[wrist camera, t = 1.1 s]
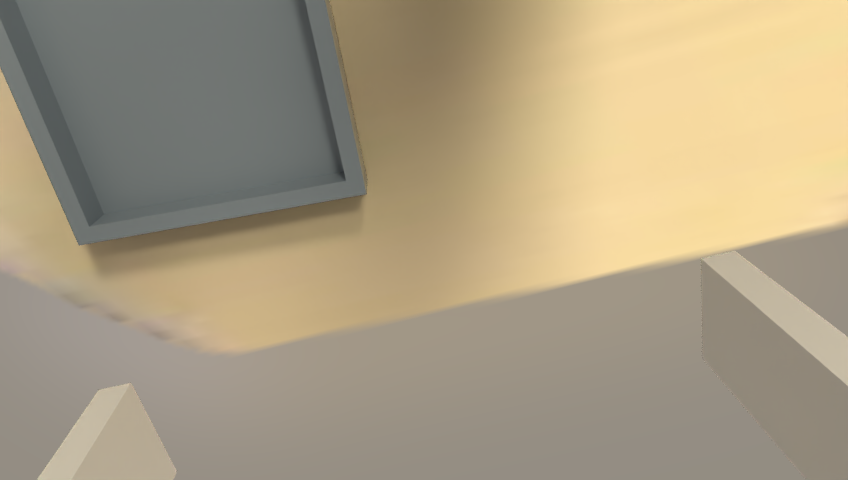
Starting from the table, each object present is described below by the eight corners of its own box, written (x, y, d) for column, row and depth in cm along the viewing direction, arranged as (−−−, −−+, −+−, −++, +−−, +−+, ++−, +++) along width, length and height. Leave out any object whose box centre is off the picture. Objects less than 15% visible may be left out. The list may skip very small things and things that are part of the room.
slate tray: (-28, -77, 30) (-66, -83, 27) (301, -135, 30) (293, -147, 27) (99, 227, 37) (78, 245, 34) (367, 179, 37) (366, 194, 34)
